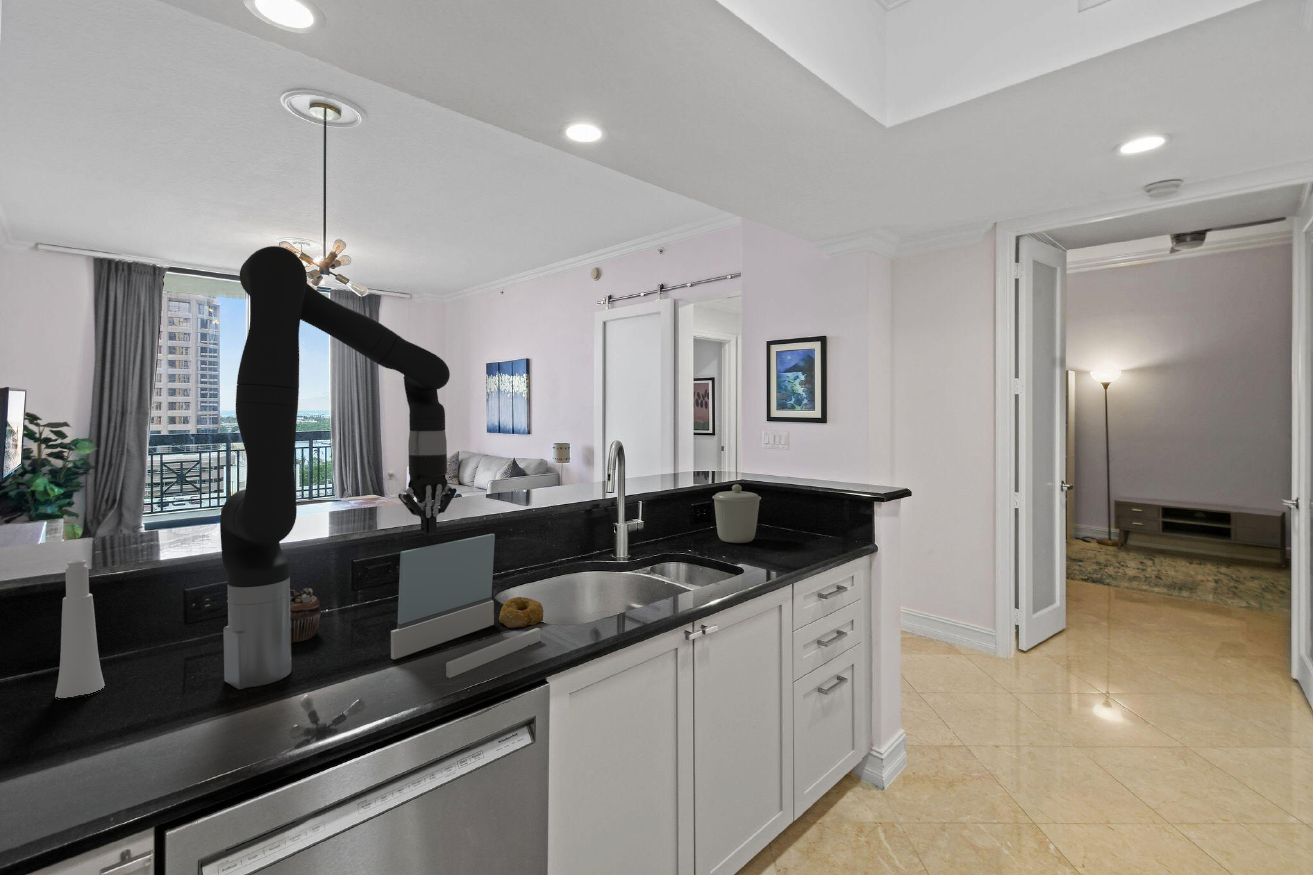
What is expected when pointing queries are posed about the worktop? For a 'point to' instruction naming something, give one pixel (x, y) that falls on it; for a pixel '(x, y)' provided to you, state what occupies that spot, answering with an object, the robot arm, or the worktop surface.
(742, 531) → the canister
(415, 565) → the cover
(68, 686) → the cosmetic bottle
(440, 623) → the white channel
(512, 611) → the bagel
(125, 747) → the worktop surface
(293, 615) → the cupcake
